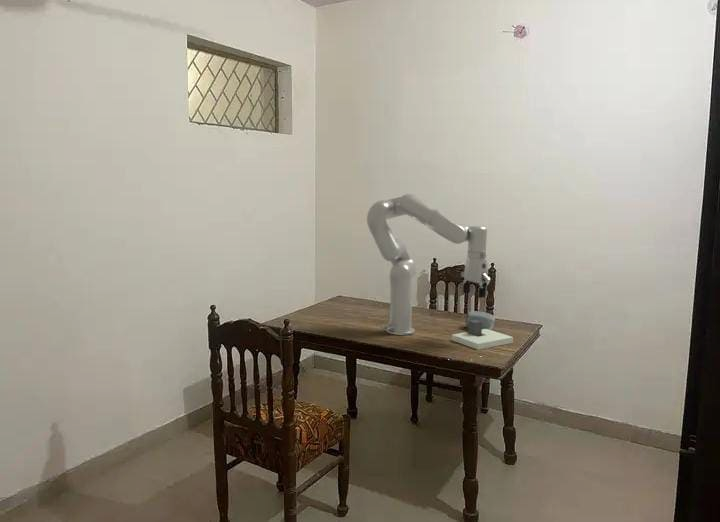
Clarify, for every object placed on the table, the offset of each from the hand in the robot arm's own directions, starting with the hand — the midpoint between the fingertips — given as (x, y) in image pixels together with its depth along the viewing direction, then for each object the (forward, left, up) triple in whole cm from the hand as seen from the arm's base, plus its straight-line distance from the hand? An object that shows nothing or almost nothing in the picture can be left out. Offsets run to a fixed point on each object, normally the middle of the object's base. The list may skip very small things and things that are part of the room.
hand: (474, 294), depth 238 cm
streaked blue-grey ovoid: (+14, +10, -19) cm, 26 cm away
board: (0, -6, -19) cm, 20 cm away
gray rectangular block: (-1, -2, -19) cm, 19 cm away
